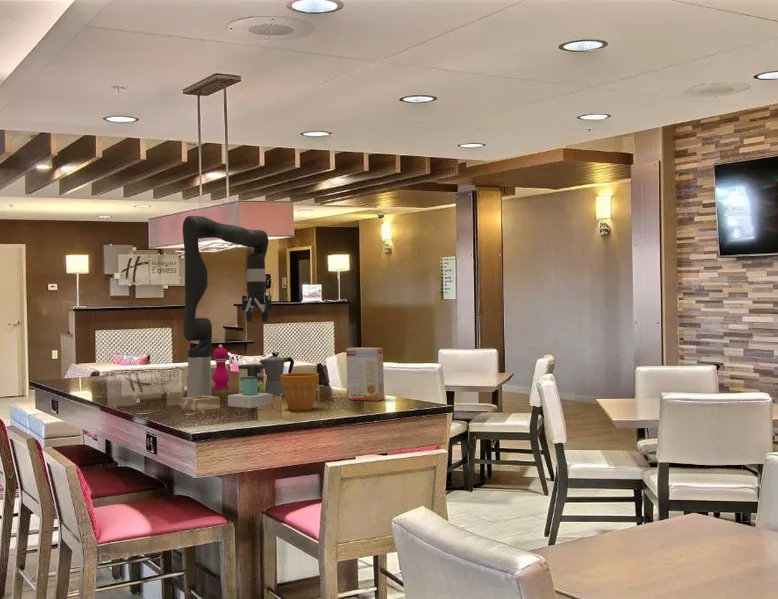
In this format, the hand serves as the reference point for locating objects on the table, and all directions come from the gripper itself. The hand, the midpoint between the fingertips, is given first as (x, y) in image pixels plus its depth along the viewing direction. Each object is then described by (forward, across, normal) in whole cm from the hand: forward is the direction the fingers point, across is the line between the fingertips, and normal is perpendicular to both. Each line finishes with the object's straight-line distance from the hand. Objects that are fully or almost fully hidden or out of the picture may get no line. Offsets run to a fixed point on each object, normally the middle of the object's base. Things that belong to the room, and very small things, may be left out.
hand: (257, 321), depth 359 cm
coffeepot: (+32, -13, +24) cm, 42 cm away
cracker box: (+32, +31, +29) cm, 53 cm away
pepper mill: (+32, -52, +28) cm, 67 cm away
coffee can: (+32, -10, +6) cm, 34 cm away
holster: (+32, -2, -28) cm, 43 cm away
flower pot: (+32, +27, -5) cm, 42 cm away
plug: (+31, +8, -12) cm, 34 cm away
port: (+32, +8, -12) cm, 35 cm away
